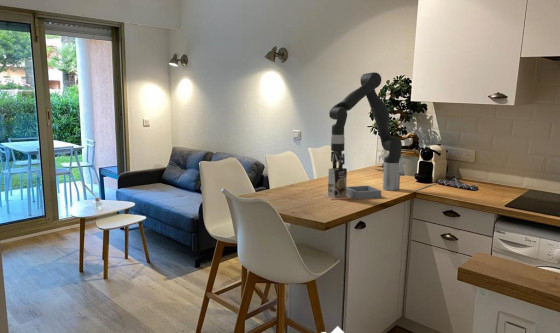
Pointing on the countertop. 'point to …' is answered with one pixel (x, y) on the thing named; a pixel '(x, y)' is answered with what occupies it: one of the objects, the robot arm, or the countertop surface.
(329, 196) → the coaster
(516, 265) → the countertop surface
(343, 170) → the coffee box
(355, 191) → the grey square tray
